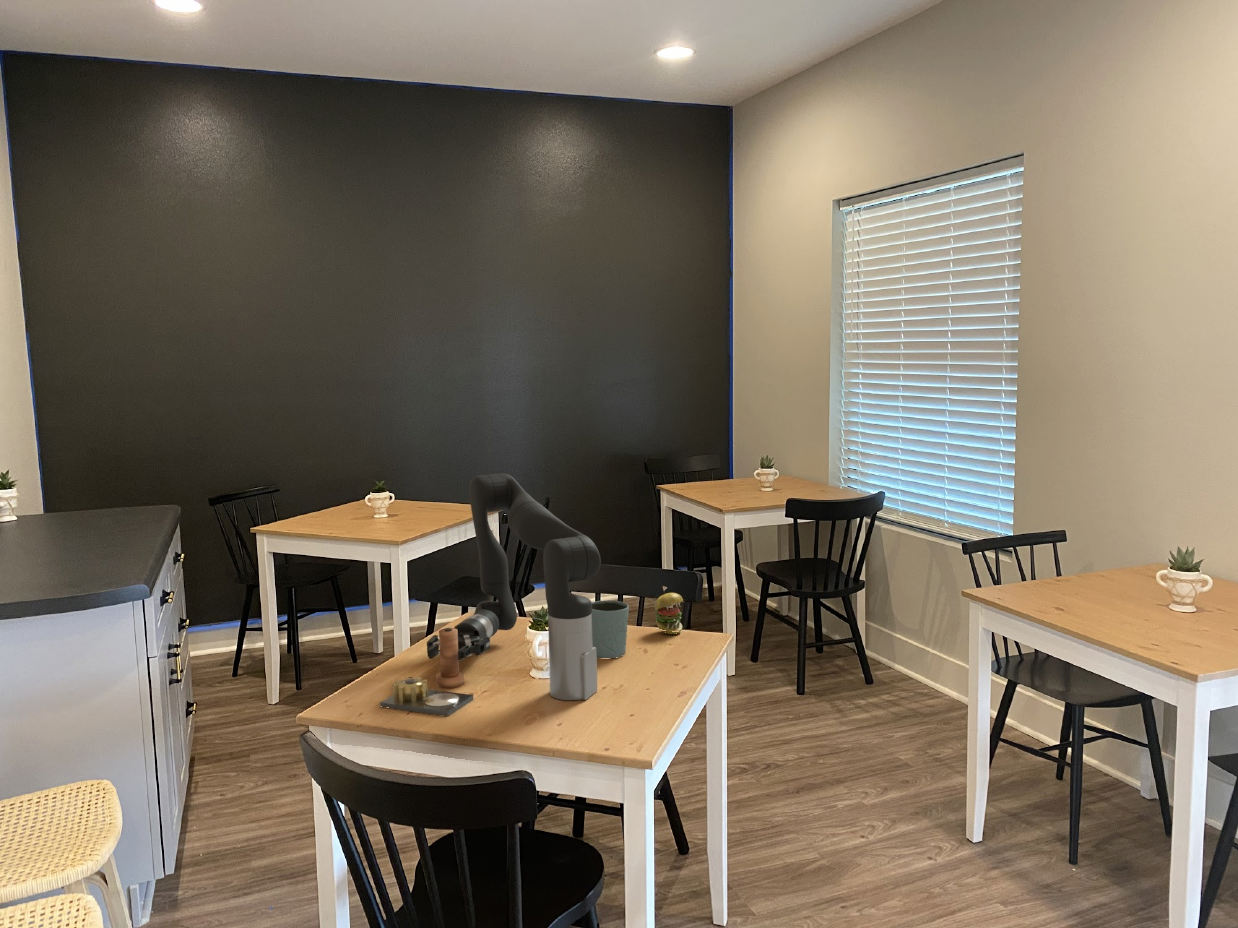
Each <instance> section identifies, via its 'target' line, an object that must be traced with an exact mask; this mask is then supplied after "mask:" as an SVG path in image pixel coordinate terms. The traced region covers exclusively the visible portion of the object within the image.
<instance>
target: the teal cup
mask: <svg viewBox="0 0 1238 928" xmlns="http://www.w3.org/2000/svg"><path fill="white" fill-rule="evenodd" d="M591 603H592V641H593V647H596V655H597V658H616V657H620V658H622V657H621V656H622V655H624V654H625V655H626V651H627V650H626V649H627V638H628V637H627V636H628V634H627V633H628V621H629V619H628V618H629V611H630V610H629V609H630V607H629V606H630V605H629V604H628V603H626V602H623V601H619V600H597V601H591ZM625 655H624V656H625ZM616 659H617V658H616Z"/></svg>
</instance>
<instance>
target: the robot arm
mask: <svg viewBox="0 0 1238 928" xmlns="http://www.w3.org/2000/svg"><path fill="white" fill-rule="evenodd" d="M469 502H470V508H471V515H472V521H473V526H474V527H473V528H474V532H475V538H476V543H477V550H478V556H479V557H478V558H479V578H480V579H479V581H480V589H481V591H482V593H484V594H486V595H488V596H491V597H494V598H495V599H496V600H497V601H495V600H494V601H493V600H483V601H481V602H479V603H478V604H477V605H476V607H475V610H474V613H473V614H472V615H470V616H468V617H466V618H465V619H463V620H461V622H459V623H458V624H456V625H455V626H454V627H453V628H455V629H457V630H458V660H459V661H463V660H464V659H467V657H472V656H473V654H474V655H475V656H477V657H478V656H482V654H484V653H486V652H487V651H489V650H490V649H491V638H493V636H495V634H496V633H497V632H498V631H509V630H512V629H514V627H515V625H516V623H517V619H518V612H517V608H516V605H515V601H514V598H513V596H512V591H511V589H510V577H509V575H510V574H509V560H508V557H507V553H506V551H505V550H504V548H503V546H502V545H501V544H500V542H499V540H497V538H496V536H495V535H494V533H493V531H492V530H491V527H490V524H489V519H488V518H489V517H488V513H493V512H502V511H508V515H507V525H508V528H509V529H510V531H511V533H512V534H513V535H514V536H515V537H516V538H517V539H518V540H519V541H520V542H522V543H523V544H525V545H526V546H528V547H530V548H533V549H535V550H539V551H543V554H542V556H543V557H542V558H543V559H542V564H543V575H544V587H545V588H544V589H545V600H546V604H547V621H548V623H547V625H548V626H547V627H548V658H549V659H548V660H549V661H548V663H549V664H548V666H549V669H548V670H549V692H550V693H549V694H550V696H551V697H552V698H554V699H556V700H557V699H558V700H562V701H579V700H585V701H587V700H588V699H589V698H590V697H591V696H592V695H594V694H595V693H596V692H597V691H598V667H597V666H598V665H597V662H598V661H597V655H596V647H593V641H592V600H591V599H590V598H588V597H586V596H583V595H580V594H575V593H572V592H570V586H569V583H574V582H579V581H586V580H588V579H591V578H593V577H595V576H596V575H597V574H598V573H599V571H600V569H601V564H602V559H601V554H600V552H599V549H598V547H597V546H596V543H595V542H594V541H593V540H592V539H591V538H590V537H589V536H587V535H585V534H583V533H582V532H580V531H578V530H576V529H574V528H572V527H571V526H569V525H568V524H566V523H565V522H564V521H562V520H561V519H560V518H558V517H557V516H556V515H554V514H553V513H552V512H551V511H549V510H548V509H547V508H546V507H545V506H543V504H542V503H540V502H538V501H536V500H535V499H534V498H533V497H532V496H531V495H530V494H529V493H528V492H526V490H524V488H523V487H522V486H521V485H520V484H519V482H518V481H517V480H516V479H515V478H514V477H513V476H512V475H510V474H508V473H493V474H492V473H491V474H482V475H476V476H474V477H472V479H471V481H470V483H469ZM426 653H427V657H428V659H429V660H433V659H434V658H435V657H437V656H438V655H440V647H439V634H434V635H432V636H431V637H430V639H428V640H427V641H426Z"/></svg>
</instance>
